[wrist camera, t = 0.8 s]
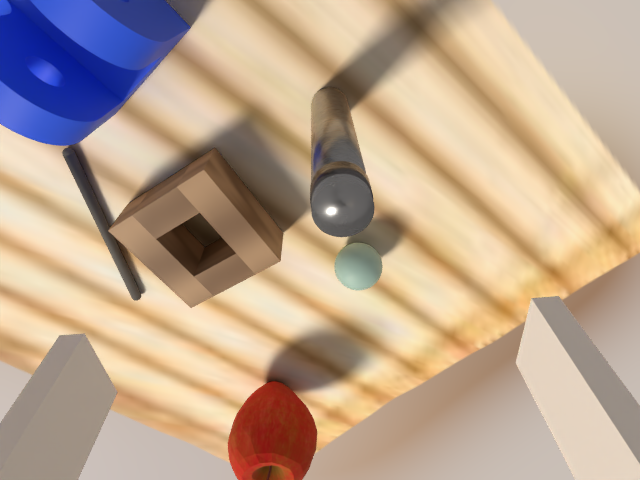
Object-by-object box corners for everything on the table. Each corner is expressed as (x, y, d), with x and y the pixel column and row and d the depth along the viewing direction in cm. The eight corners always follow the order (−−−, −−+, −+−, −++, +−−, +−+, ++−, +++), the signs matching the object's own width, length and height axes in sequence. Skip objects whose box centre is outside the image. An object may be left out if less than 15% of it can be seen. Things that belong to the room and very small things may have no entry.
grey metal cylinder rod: (308, 88, 29) (306, 185, 17) (347, 84, 29) (373, 177, 17) (313, 126, 31) (314, 240, 18) (350, 122, 31) (376, 234, 18)
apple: (323, 366, 45) (327, 467, 36) (306, 412, 50) (305, 512, 41) (244, 354, 44) (227, 455, 35) (233, 403, 49) (216, 504, 40)
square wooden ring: (127, 204, 34) (107, 230, 31) (214, 147, 31) (203, 169, 28) (201, 277, 38) (191, 308, 35) (283, 233, 36) (280, 261, 32)
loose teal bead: (331, 236, 36) (333, 264, 33) (378, 231, 36) (384, 258, 33) (335, 272, 38) (338, 302, 35) (379, 268, 38) (386, 297, 35)
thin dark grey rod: (63, 146, 31) (58, 151, 31) (74, 145, 31) (68, 149, 31) (135, 296, 39) (132, 302, 39) (143, 295, 39) (140, 301, 39)
